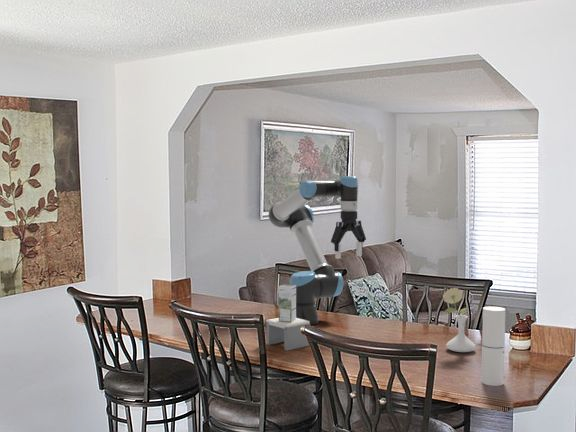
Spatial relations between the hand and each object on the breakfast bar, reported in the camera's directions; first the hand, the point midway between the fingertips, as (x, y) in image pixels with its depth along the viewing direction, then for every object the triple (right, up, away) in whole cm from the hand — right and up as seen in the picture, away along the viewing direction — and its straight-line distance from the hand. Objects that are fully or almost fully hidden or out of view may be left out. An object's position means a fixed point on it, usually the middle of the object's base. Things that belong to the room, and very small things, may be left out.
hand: (348, 257), depth 301 cm
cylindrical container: (+41, -37, -78) cm, 96 cm away
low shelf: (-27, -34, -30) cm, 53 cm away
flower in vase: (+40, -35, -39) cm, 65 cm away
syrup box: (-28, -24, -31) cm, 48 cm away
